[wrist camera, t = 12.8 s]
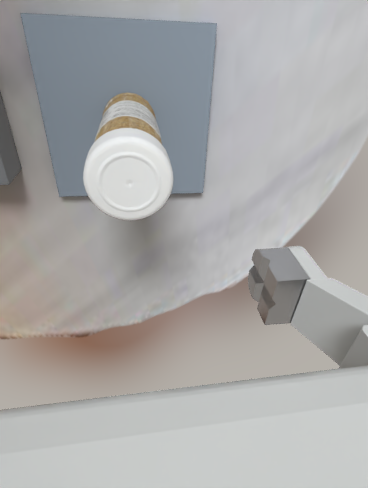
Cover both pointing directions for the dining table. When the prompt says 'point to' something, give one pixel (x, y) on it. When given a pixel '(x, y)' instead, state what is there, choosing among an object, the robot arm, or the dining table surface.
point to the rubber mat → (122, 86)
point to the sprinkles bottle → (128, 161)
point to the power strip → (7, 150)
